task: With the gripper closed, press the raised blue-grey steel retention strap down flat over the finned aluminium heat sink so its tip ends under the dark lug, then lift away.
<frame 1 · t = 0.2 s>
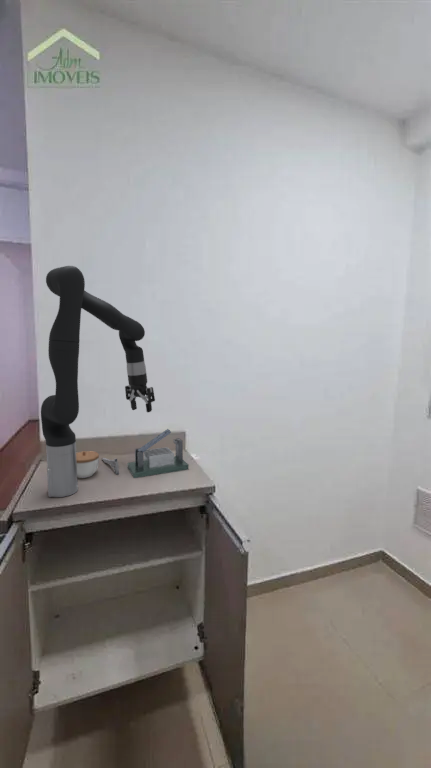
hand: (141, 410, 146), 23 cm above the table, tool pointing down, fingers open, 8 cm apart
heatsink: (156, 468, 142), on the table
lidded jar: (84, 475, 135), on the table
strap: (154, 441, 140), point 12 cm above the table, hinge at -30.0°
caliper: (109, 467, 144), on the table
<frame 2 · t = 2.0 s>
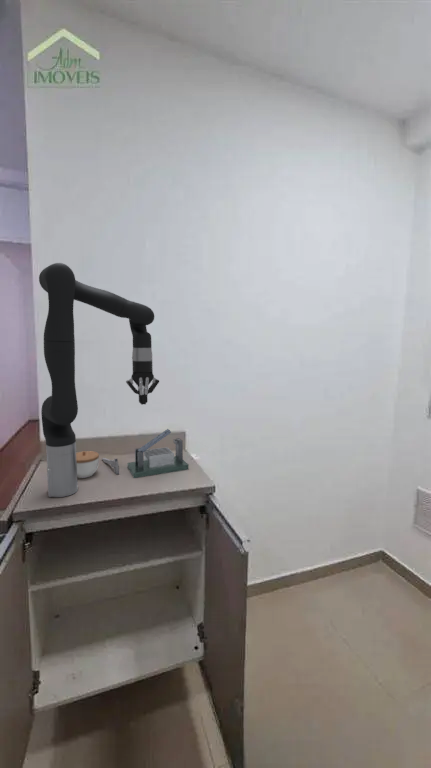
hand: (143, 404, 136), 27 cm above the table, tool pointing down, fingers closed
nothing on the table moved.
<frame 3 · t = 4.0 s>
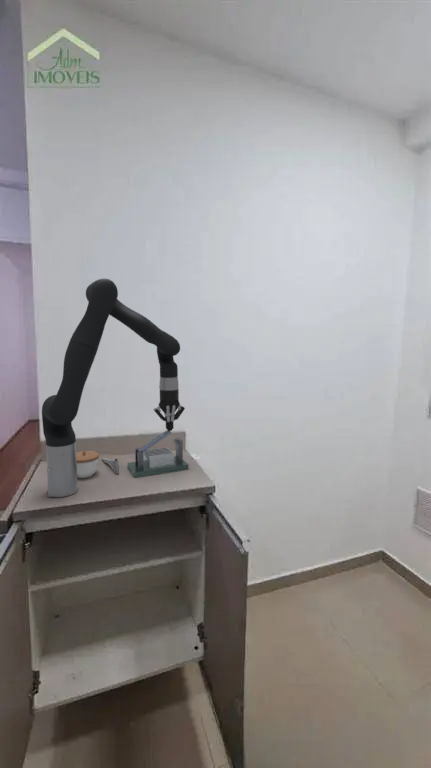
hand: (169, 430, 142), 15 cm above the table, tool pointing down, fingers closed
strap: (154, 441, 140), point 11 cm above the table, hinge at -28.8°, touching gripper
everything else where it was.
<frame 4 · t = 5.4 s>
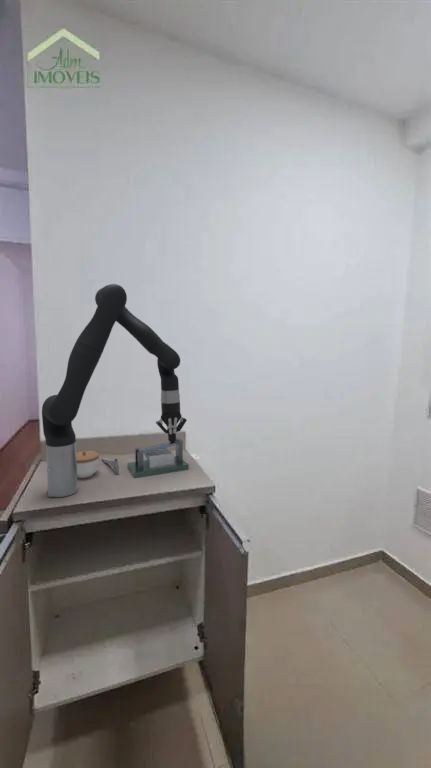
hand: (172, 442, 143), 10 cm above the table, tool pointing down, fingers closed
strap: (156, 447, 141), point 9 cm above the table, hinge at -7.0°, touching gripper
everything else where it was.
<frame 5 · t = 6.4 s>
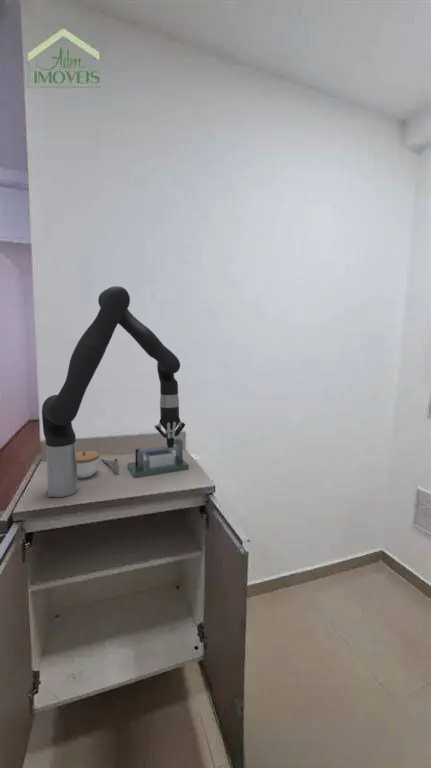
hand: (170, 446, 143), 9 cm above the table, tool pointing down, fingers closed
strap: (156, 449, 141), point 8 cm above the table, hinge at -0.2°, touching gripper
everything else where it was.
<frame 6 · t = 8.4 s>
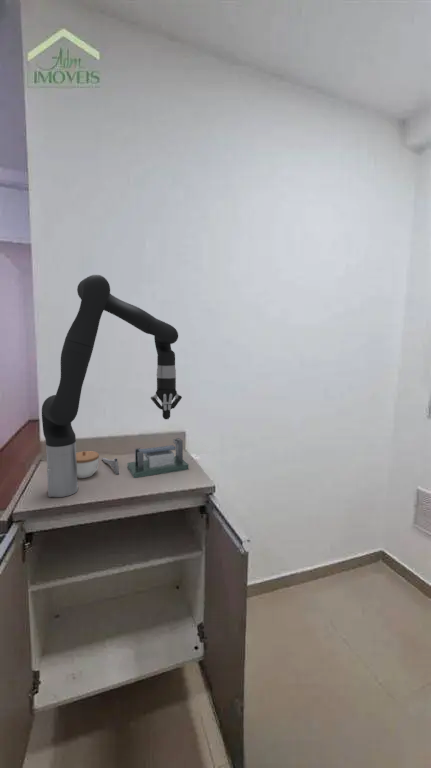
hand: (166, 418, 142), 20 cm above the table, tool pointing down, fingers closed
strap: (156, 449, 141), point 8 cm above the table, hinge at 0.0°
everything else where it was.
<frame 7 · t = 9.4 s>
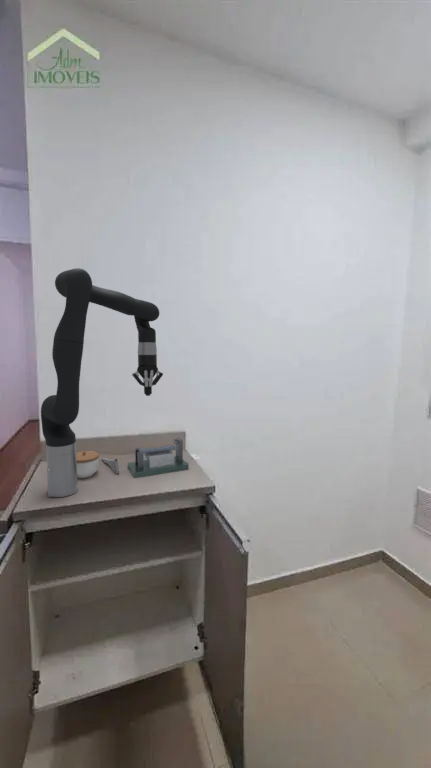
hand: (148, 395, 145), 29 cm above the table, tool pointing down, fingers closed
nothing on the table moved.
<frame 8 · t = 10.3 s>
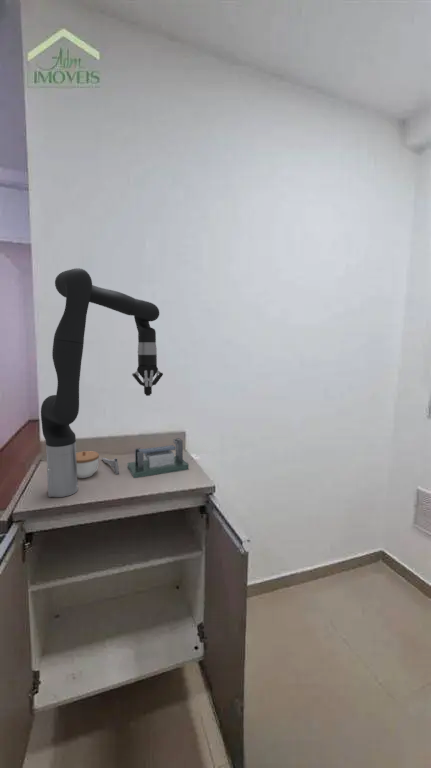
hand: (148, 395, 145), 29 cm above the table, tool pointing down, fingers closed
nothing on the table moved.
at the end: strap at +0° (first picture: -30°); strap touching nothing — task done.
